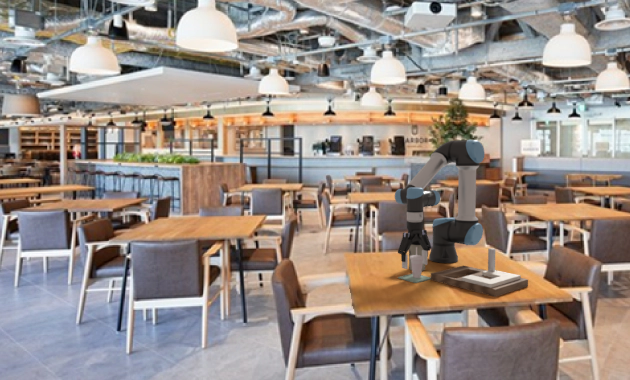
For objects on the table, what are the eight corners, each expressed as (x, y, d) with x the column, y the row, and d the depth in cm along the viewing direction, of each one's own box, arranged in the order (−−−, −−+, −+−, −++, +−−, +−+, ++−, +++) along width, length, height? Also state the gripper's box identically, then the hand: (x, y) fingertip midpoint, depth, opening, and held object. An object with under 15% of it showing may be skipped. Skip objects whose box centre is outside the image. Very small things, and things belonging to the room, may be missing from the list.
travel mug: (425, 268, 236) (425, 233, 235) (424, 271, 229) (425, 235, 227) (409, 267, 238) (409, 232, 237) (408, 271, 231) (408, 235, 229)
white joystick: (462, 280, 200) (462, 254, 200) (491, 272, 213) (492, 247, 213) (491, 287, 189) (491, 260, 188) (520, 278, 202) (521, 252, 201)
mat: (397, 278, 218) (397, 276, 217) (413, 274, 224) (413, 273, 224) (415, 283, 209) (415, 281, 209) (431, 279, 215) (431, 277, 215)
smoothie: (421, 275, 220) (421, 245, 219) (425, 278, 214) (425, 248, 213) (408, 275, 220) (408, 246, 219) (411, 278, 214) (411, 248, 213)
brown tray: (430, 279, 214) (430, 273, 214) (463, 271, 228) (463, 265, 228) (495, 296, 187) (495, 289, 187) (527, 286, 202) (528, 279, 202)
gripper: (402, 224, 204) (402, 272, 206) (439, 219, 219) (438, 263, 220) (389, 222, 210) (390, 268, 212) (426, 217, 225) (426, 260, 226)
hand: (414, 266), depth 216 cm, fingers open, 13 cm apart
